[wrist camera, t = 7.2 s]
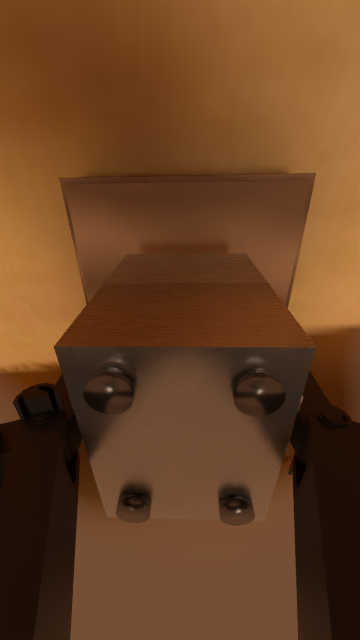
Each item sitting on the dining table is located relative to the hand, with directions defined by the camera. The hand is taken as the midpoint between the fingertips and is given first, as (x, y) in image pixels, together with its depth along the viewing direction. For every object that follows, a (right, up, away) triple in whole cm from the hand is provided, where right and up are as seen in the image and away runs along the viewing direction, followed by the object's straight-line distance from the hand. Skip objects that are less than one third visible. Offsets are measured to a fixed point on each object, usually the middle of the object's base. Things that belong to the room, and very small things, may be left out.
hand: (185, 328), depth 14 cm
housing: (0, 0, 0) cm, 0 cm away
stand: (0, +4, +7) cm, 8 cm away
